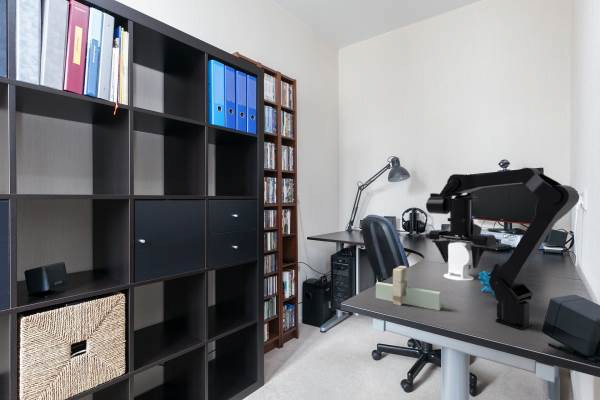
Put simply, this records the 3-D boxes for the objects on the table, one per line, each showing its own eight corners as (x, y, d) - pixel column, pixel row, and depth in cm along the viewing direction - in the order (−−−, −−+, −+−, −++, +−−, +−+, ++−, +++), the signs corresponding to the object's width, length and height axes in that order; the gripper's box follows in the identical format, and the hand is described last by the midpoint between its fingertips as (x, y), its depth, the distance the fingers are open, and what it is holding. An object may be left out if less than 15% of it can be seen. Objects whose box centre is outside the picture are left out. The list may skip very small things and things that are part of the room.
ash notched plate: (399, 298, 105) (400, 265, 105) (407, 299, 104) (407, 266, 104) (392, 304, 100) (393, 269, 100) (400, 305, 98) (400, 270, 98)
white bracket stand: (480, 278, 130) (480, 243, 130) (464, 282, 125) (464, 245, 125) (454, 272, 141) (454, 239, 141) (437, 276, 135) (437, 241, 135)
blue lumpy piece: (492, 294, 104) (476, 268, 111) (479, 303, 108) (465, 277, 115) (515, 295, 108) (498, 270, 115) (503, 304, 111) (487, 279, 118)
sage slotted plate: (440, 308, 96) (440, 292, 96) (439, 310, 94) (439, 293, 94) (377, 296, 107) (377, 282, 107) (375, 298, 106) (375, 283, 106)
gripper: (506, 215, 93) (505, 267, 93) (447, 212, 109) (447, 257, 109) (486, 216, 87) (485, 272, 88) (427, 213, 103) (427, 261, 103)
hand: (460, 265), depth 97 cm, fingers open, 9 cm apart
